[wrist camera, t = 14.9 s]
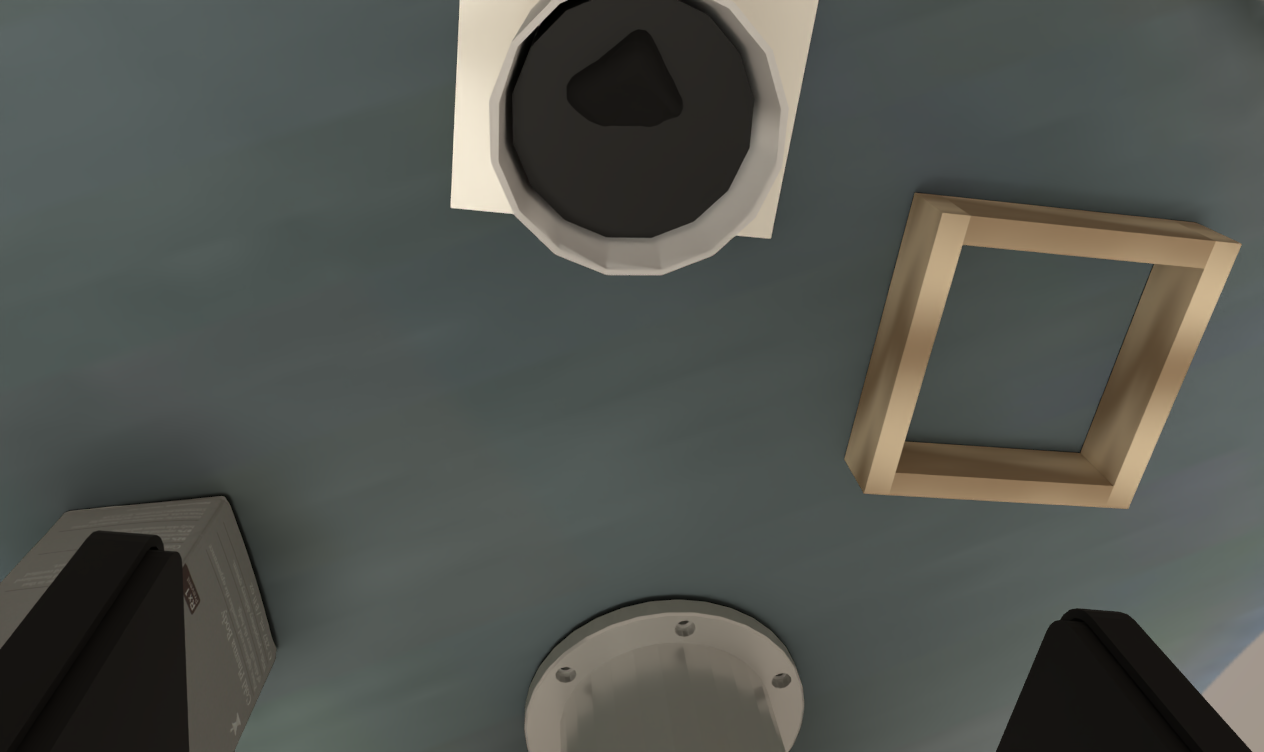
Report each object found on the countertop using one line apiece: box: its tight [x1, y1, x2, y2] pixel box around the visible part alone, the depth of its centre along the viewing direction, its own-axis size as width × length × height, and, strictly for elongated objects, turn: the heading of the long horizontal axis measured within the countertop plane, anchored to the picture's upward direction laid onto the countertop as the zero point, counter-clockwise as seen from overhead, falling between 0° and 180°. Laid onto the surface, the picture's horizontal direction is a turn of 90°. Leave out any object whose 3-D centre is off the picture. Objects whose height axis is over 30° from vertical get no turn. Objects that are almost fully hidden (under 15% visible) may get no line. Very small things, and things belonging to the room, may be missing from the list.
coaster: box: [451, 0, 819, 239], centre depth 29 cm, size 11×11×1 cm
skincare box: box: [0, 496, 277, 752], centre depth 30 cm, size 8×7×16 cm
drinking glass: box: [489, 0, 789, 275], centre depth 25 cm, size 7×7×10 cm
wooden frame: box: [844, 193, 1242, 509], centre depth 35 cm, size 11×11×2 cm
